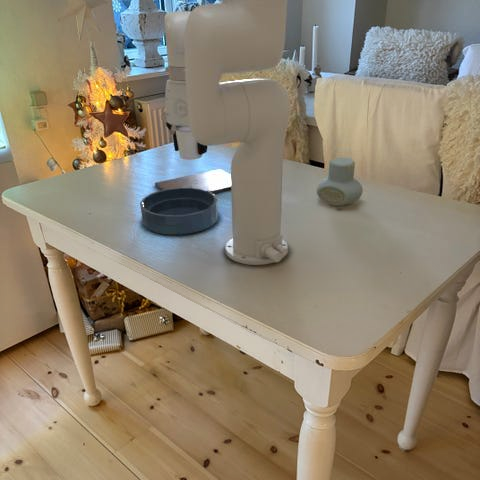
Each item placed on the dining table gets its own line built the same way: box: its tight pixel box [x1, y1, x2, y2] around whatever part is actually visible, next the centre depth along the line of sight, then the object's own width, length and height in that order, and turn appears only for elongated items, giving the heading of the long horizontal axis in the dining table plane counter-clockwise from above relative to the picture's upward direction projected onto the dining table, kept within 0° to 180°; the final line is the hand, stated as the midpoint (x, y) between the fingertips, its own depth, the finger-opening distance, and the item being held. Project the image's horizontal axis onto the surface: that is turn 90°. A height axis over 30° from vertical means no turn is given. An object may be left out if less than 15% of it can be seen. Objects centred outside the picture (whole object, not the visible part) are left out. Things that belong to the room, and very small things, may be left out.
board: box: [154, 168, 231, 195], centre depth 131 cm, size 14×20×1 cm
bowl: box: [139, 188, 219, 235], centre depth 112 cm, size 17×17×4 cm
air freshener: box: [316, 157, 364, 208], centre depth 117 cm, size 11×8×10 cm
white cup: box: [175, 126, 203, 161], centre depth 123 cm, size 7×7×7 cm
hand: (190, 151), depth 125 cm, fingers closed on white cup, 6 cm apart
